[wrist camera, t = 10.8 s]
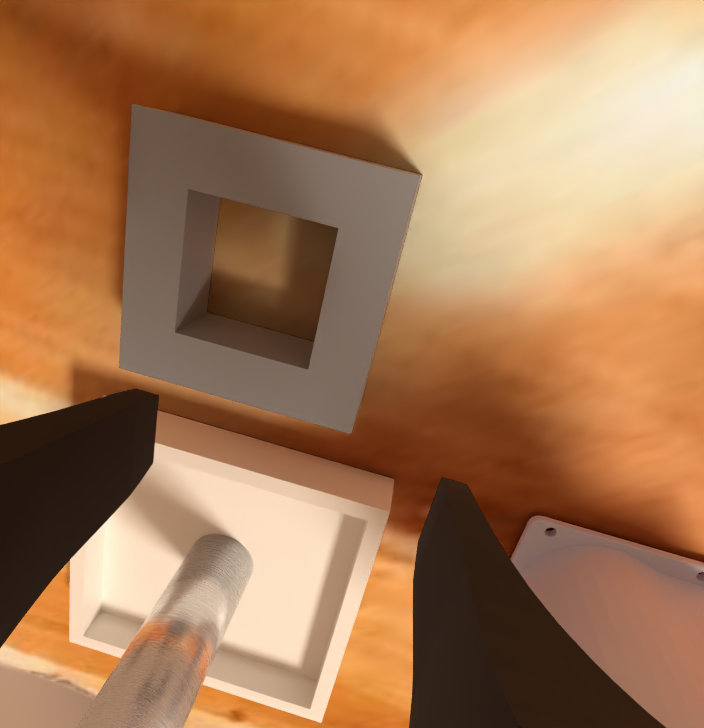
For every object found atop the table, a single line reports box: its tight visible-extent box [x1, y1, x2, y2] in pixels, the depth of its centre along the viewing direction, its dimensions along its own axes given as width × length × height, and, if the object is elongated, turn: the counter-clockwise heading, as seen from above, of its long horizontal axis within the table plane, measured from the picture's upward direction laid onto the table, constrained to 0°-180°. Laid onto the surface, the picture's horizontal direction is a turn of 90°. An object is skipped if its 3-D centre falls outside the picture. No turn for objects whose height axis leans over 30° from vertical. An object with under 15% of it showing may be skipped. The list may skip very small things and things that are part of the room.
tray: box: [70, 395, 395, 723], centre depth 26 cm, size 15×15×2 cm
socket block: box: [119, 104, 422, 434], centre depth 20 cm, size 10×10×3 cm
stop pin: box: [77, 534, 254, 728], centre depth 22 cm, size 4×4×10 cm
